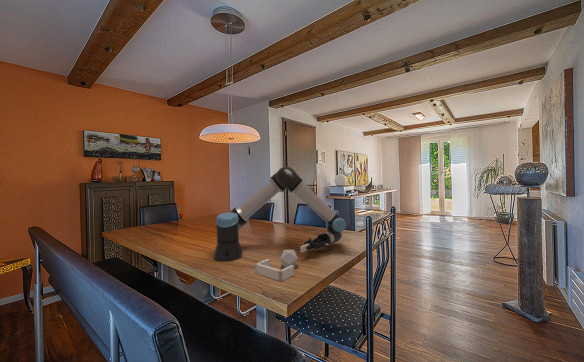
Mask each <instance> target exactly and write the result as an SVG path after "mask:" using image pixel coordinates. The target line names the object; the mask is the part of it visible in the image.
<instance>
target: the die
mask: <svg viewBox="0 0 584 362" xmlns="http://www.w3.org/2000/svg"><path fill="white" fill-rule="evenodd" d="M279 259H280V262H281V264H282V267H283V269H284V268H286V267H288V266H290V265H293V266H294V269H295V268H296V265H297V262H298V256H297V253H296V251H295V249H283V252H282V253H281V256H280V258H279Z"/></svg>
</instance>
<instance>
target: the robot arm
mask: <svg viewBox="0 0 584 362" xmlns="http://www.w3.org/2000/svg"><path fill="white" fill-rule="evenodd" d="M286 190H288V191H289V192H290V194H295V195H296V196H297V197H298V198H299V199H300V200H301V201H302V202H303V203H305V204H306V205H307V206H308V207H309V208H310V209H311V210H313V212H315V213H316V214H317V216H318V217H320V218H321V219H322V220H323V221H324V222H325V223H326V231H325V232H322V233H321V234H318V235H317V237H316V238H313V239H312V238H308V239H307V240H306V241H304V243H303V244H304V245H303V244H302V245H301V246H300V248H299V249H300V250H299V251H300V253H305V252H307V251H309V250H318V249H321V248H326V247H329V246H330V245H332V244H334V243H337V242H339V241H340V240H341V239H342V238H343V232H344V231H345V230H346V228H347V222H346V221H345V220H344V218H342V217H341V216H340V212H339V210H333V209H332V208H331V207H330V206H329V205H328V204H327V203H326V202H325V201H324V200H322V198H320V196H318V195H317V194H316V193H315V192H314V191H312V189H311V188H309V187H308V186H307V184H305V182H304V180H303V178H302V177H300V175H298V173H297V172H296V170H295V169H293V168H292V167H290V166H283V167H281V168H279V170H277V171H276V172H275V173H274V174H273V175H272V176H270V178H269V182H267V183H266V184H265V185H264V186H263V187H261V188H260V189H259V190H258V191H257V192H256V193H254V194H253V195H252V196H250V197H249V198H248V199H247V200H246V201H245V202H244V203H242V204H241V205H240V206H234V208H232V209H231V211H229V212H223V213H220V214H218V215H217V216H216V221H215V224H216V247H215V248H214V252H213V258H214V259H213V260H215V261H221V262H229V261H234V260H237V259H240V258H242V257H243V250H242V247H241V243H240V238H239V237H240V235H239V233H240V232H239V230H240V229H242V227H243V226H245V225H246V224H247V223H248V222H249V218H250V217H251V216H253V215H254V214H255V213H256V212H257V211H259V210H260V209H261V208H262V207H263V206H264V205H265V204H267V203H268V202H269V201H270V200H271V199H272V198H274V197H275V196H276V195H277V194H279V193H284V192H285V191H286Z"/></svg>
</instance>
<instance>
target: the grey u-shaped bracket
mask: <svg viewBox="0 0 584 362" xmlns="http://www.w3.org/2000/svg"><path fill="white" fill-rule="evenodd" d="M253 265H254V274H257V275H259V276H263V277H266V278H270V279H273V280H276V281H278V282H283V281H285V280H287V279H289V278H291V277H293V276H294V275H295V268H294V266H293V265H290V266H288V267H286V268H284V267H283V268H282V269H278V268H275V267H271V260H270V259H269V258H266V259H264V260H262V261H259V262H256V263H254V264H253Z"/></svg>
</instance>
